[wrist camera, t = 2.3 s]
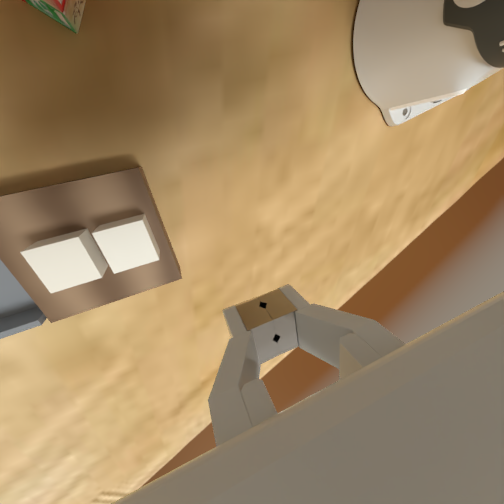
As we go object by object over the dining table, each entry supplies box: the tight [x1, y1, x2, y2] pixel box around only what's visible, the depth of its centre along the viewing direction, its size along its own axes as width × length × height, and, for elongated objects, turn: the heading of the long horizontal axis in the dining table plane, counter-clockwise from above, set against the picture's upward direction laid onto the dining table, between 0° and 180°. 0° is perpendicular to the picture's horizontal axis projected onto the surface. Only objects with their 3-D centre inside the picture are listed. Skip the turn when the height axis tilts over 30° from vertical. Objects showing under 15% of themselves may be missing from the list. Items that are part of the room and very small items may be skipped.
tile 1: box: [20, 229, 108, 293], centre depth 19 cm, size 4×4×2 cm
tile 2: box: [92, 214, 160, 274], centre depth 20 cm, size 4×4×2 cm
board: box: [0, 167, 182, 323], centre depth 22 cm, size 13×12×3 cm
